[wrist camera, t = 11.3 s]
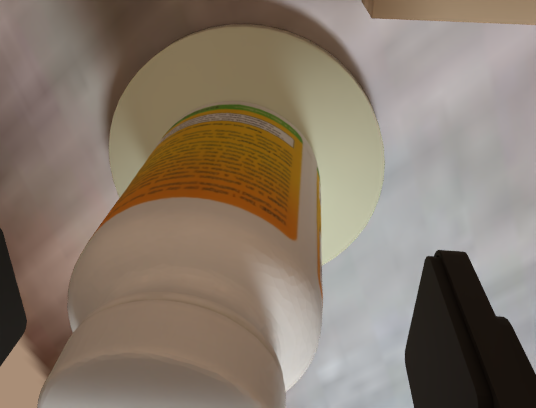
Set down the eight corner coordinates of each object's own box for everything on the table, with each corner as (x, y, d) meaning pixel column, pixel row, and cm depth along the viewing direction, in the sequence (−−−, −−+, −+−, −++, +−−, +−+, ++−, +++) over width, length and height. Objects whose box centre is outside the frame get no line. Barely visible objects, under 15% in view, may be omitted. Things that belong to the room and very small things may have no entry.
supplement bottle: (125, 142, 16) (-85, 378, 8) (271, 65, 15) (210, 259, 6) (211, 265, 18) (120, 557, 10) (347, 210, 17) (378, 502, 8)
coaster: (364, 277, 19) (366, 290, 18) (131, 260, 20) (124, 273, 19) (401, 30, 15) (405, 35, 14) (100, 17, 15) (89, 21, 14)
